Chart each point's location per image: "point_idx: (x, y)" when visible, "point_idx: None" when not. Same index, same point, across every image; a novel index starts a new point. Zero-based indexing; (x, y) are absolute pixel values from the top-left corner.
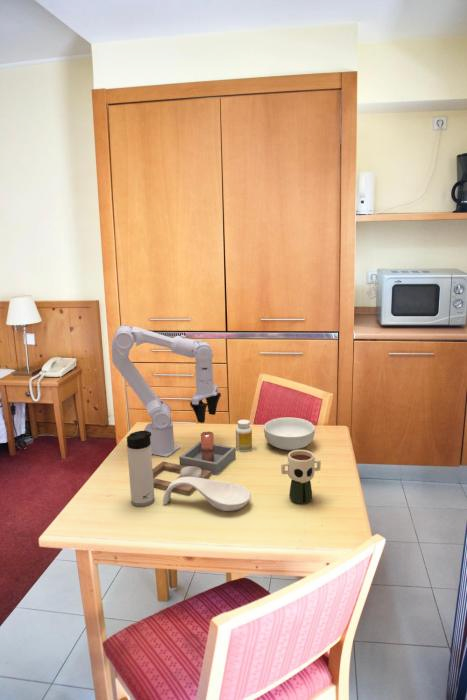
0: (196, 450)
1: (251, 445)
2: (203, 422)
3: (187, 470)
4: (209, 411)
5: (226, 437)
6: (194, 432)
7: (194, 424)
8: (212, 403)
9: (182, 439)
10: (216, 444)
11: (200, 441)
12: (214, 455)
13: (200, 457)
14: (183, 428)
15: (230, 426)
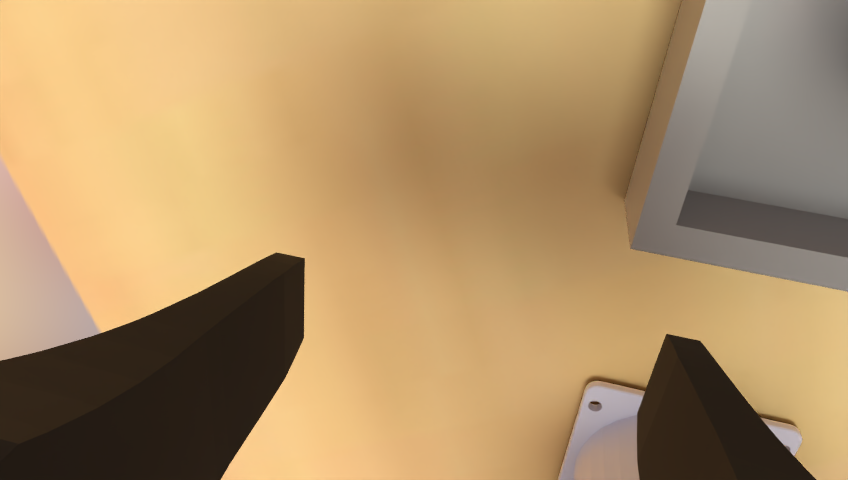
0: (781, 226)
1: None
2: (703, 346)
3: None
4: (285, 361)
5: (246, 51)
6: None
7: None
8: (191, 419)
9: (416, 392)
10: (700, 28)
11: (633, 241)
12: (768, 12)
13: (834, 149)
14: None
15: (19, 95)
